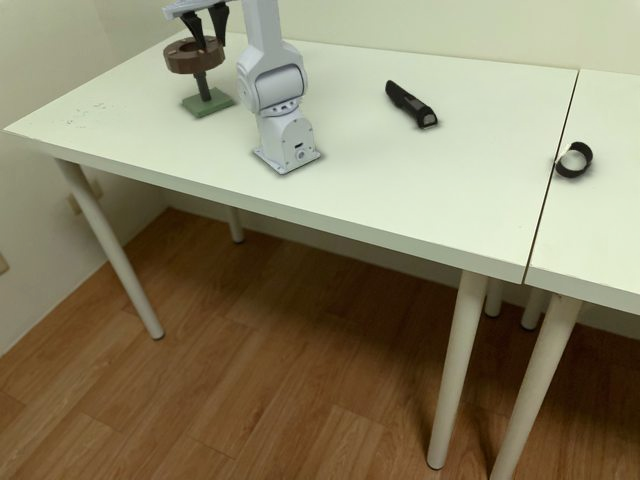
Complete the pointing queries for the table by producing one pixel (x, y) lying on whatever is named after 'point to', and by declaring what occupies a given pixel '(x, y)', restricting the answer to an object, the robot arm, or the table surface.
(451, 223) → the table surface
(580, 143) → the watch
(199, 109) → the rack
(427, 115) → the electric trimmer
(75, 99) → the table surface
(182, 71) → the clock ring
